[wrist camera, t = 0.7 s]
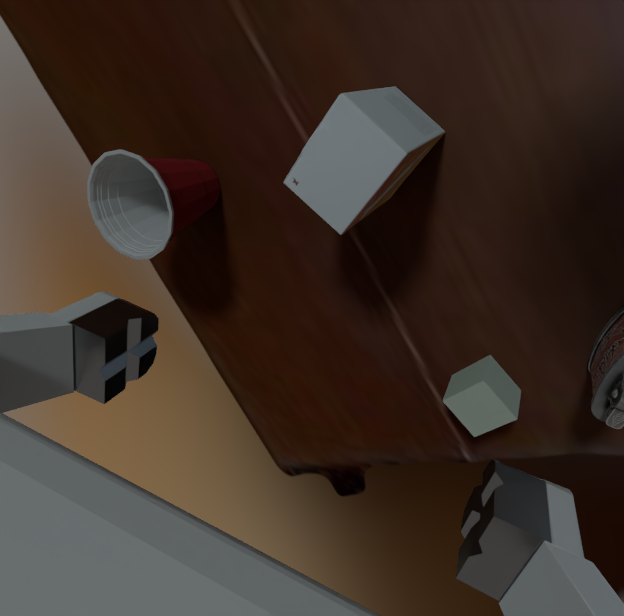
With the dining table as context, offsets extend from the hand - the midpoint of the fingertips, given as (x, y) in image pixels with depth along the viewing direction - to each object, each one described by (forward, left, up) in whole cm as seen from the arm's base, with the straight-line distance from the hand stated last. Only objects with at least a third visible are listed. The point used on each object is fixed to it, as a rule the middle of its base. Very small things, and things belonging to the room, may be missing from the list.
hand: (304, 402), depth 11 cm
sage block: (+15, +18, -37) cm, 44 cm away
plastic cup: (+26, -20, -37) cm, 50 cm away
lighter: (+2, +20, -37) cm, 42 cm away
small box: (+6, -7, -37) cm, 38 cm away
